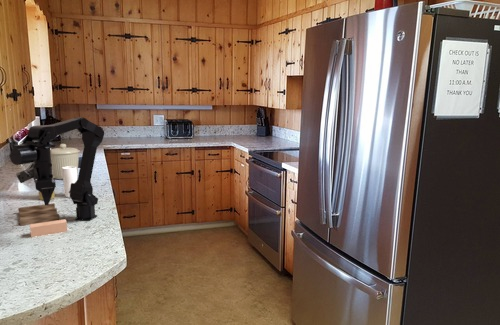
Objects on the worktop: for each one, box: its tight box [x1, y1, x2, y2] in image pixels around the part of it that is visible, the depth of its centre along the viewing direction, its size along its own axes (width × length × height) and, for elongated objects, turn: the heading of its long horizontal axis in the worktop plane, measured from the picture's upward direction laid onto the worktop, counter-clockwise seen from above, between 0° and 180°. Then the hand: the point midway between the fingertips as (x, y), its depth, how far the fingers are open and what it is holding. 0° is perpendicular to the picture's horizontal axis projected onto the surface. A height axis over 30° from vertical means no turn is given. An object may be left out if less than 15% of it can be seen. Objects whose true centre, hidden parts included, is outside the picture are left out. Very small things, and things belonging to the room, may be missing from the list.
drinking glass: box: [62, 166, 78, 199], centre depth 194 cm, size 7×7×15 cm
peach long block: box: [29, 219, 68, 238], centre depth 145 cm, size 12×4×4 cm, turn 122°
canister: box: [51, 143, 81, 180], centre depth 234 cm, size 18×18×21 cm
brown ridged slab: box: [17, 203, 61, 227], centre depth 163 cm, size 14×18×2 cm
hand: (45, 201), depth 143 cm, fingers open, 9 cm apart
